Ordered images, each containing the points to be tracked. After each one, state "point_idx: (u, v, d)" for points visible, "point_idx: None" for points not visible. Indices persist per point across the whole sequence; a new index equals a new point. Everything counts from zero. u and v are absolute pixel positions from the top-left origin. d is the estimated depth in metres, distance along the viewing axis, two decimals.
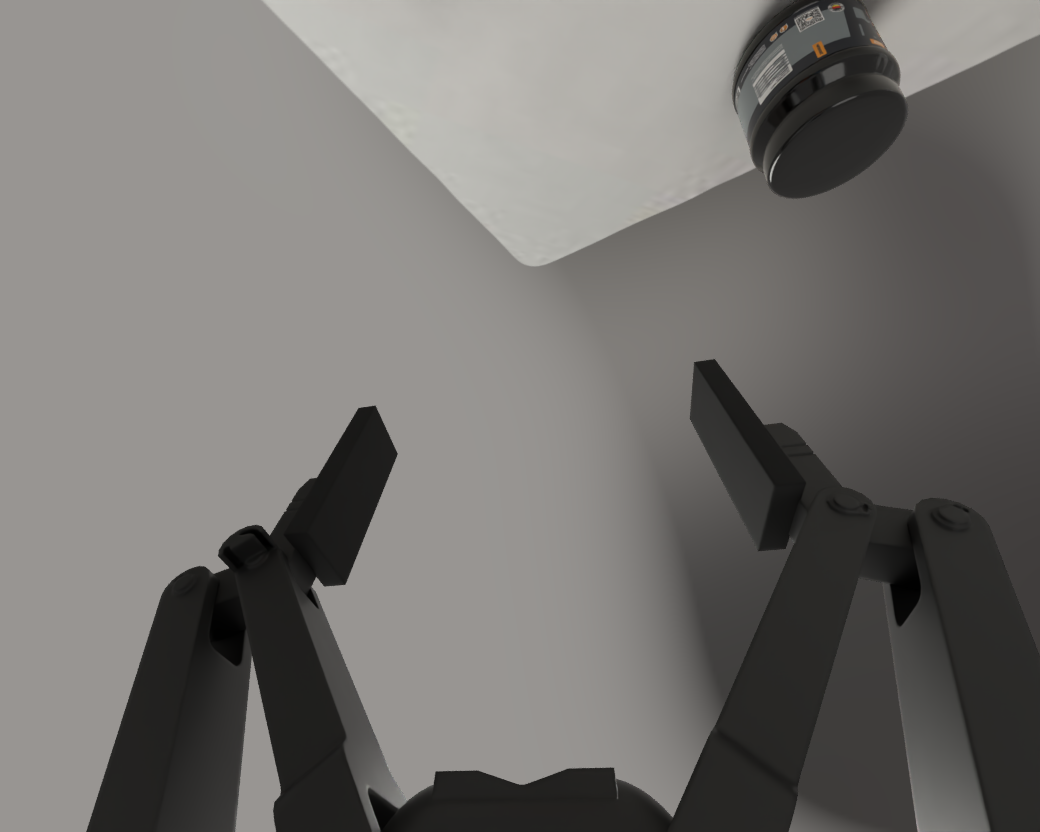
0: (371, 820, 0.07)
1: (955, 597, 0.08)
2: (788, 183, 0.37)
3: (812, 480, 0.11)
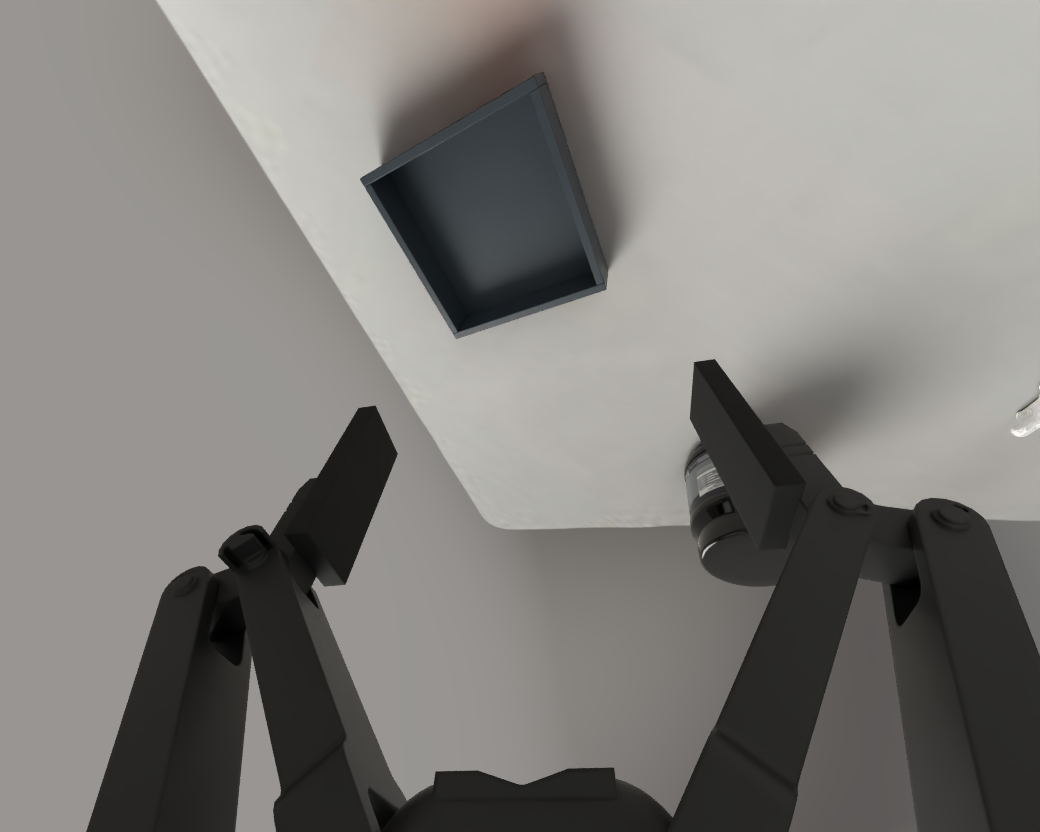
0: (371, 820, 0.07)
1: (955, 597, 0.08)
2: (718, 569, 0.40)
3: (812, 480, 0.11)
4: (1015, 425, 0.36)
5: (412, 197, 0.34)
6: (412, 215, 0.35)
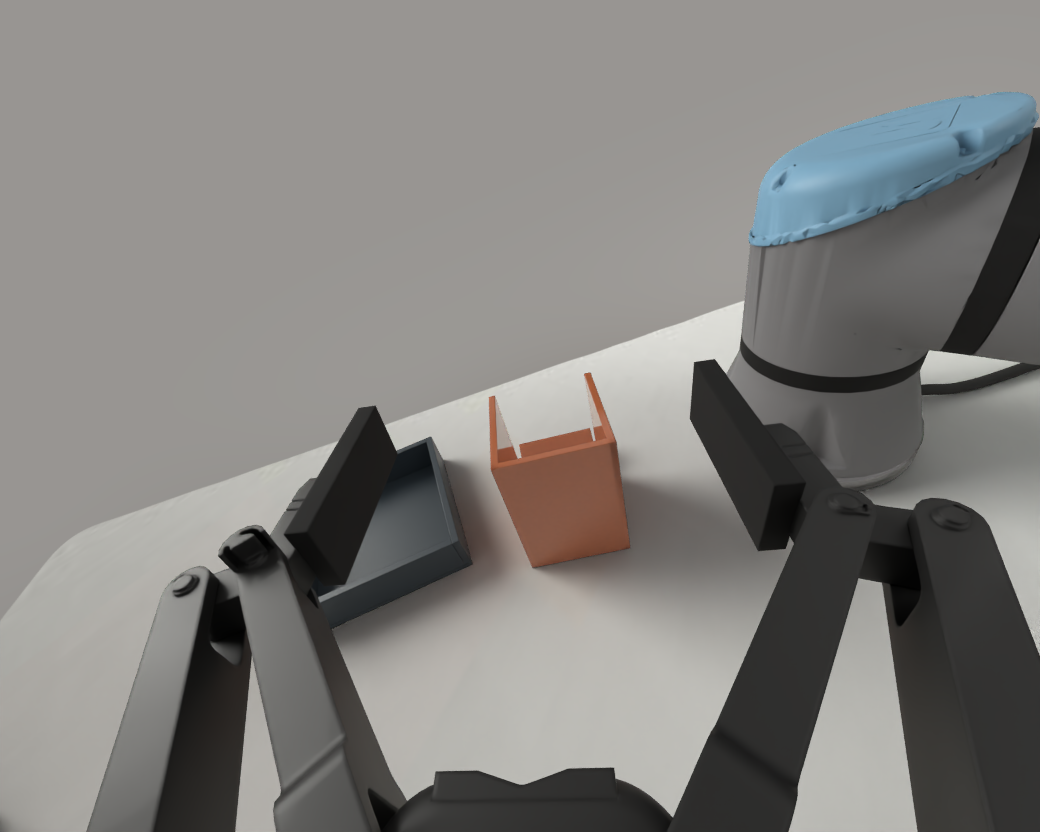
0: (371, 820, 0.07)
1: (955, 597, 0.08)
2: None
3: (812, 480, 0.11)
4: None
5: (419, 475, 0.45)
6: (408, 474, 0.45)
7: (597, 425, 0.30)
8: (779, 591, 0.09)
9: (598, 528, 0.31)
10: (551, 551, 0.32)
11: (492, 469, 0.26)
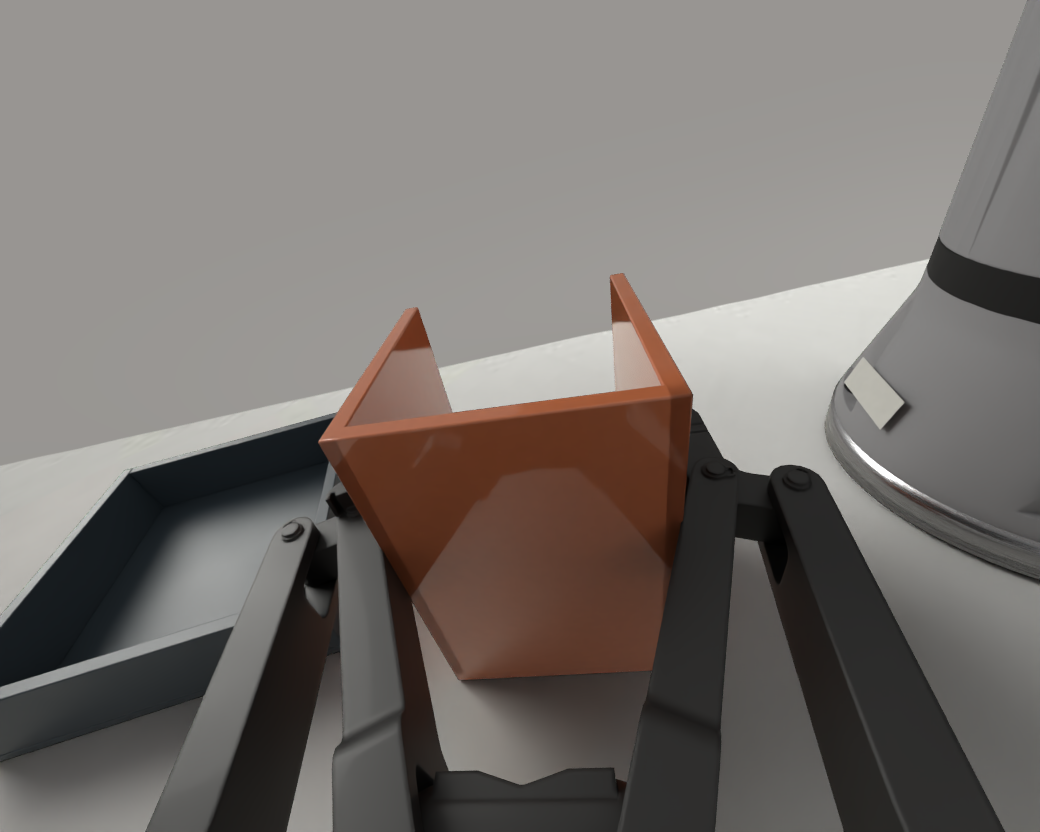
0: (414, 802, 0.07)
1: (812, 550, 0.09)
2: None
3: (700, 453, 0.13)
4: None
5: (324, 469, 0.28)
6: (309, 466, 0.28)
7: (629, 383, 0.13)
8: (677, 559, 0.10)
9: (606, 624, 0.13)
10: (497, 656, 0.15)
11: (322, 440, 0.09)
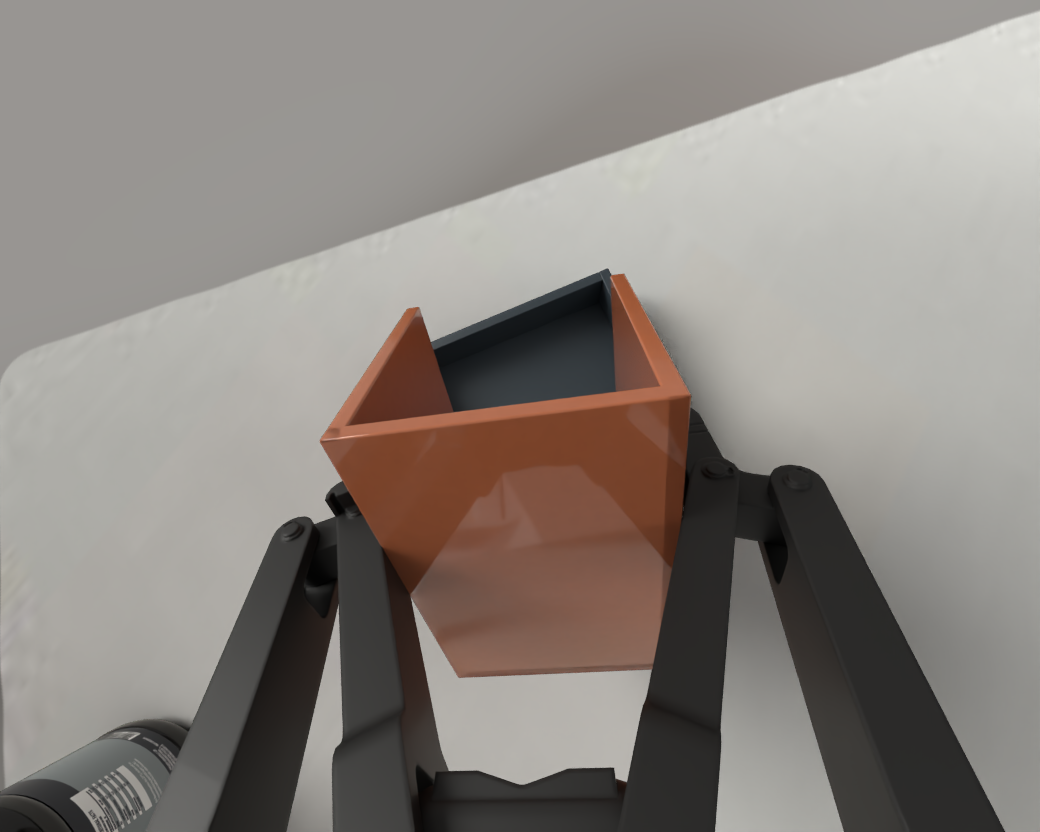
0: (414, 802, 0.07)
1: (812, 550, 0.09)
2: None
3: (700, 453, 0.13)
4: None
5: (573, 324, 0.28)
6: (554, 321, 0.29)
7: (629, 383, 0.13)
8: (678, 559, 0.10)
9: (605, 622, 0.13)
10: (497, 654, 0.15)
11: (324, 439, 0.09)
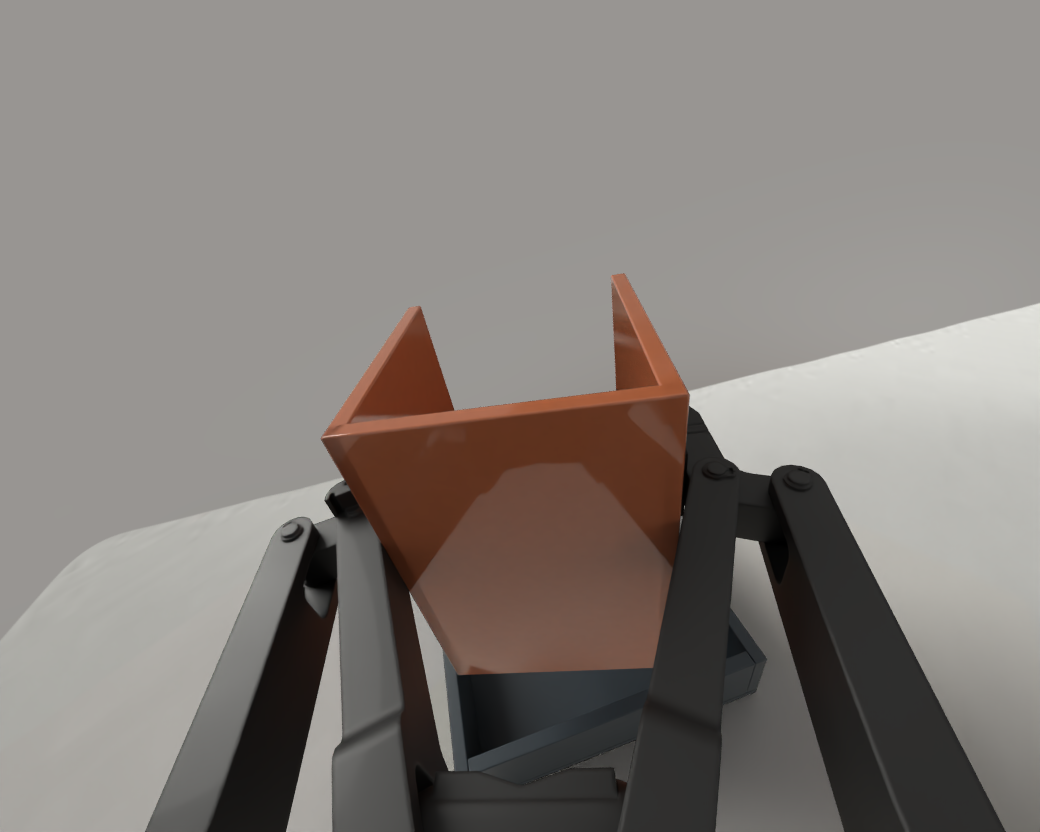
0: (414, 802, 0.07)
1: (813, 550, 0.09)
2: None
3: (700, 453, 0.13)
4: None
5: None
6: None
7: (629, 382, 0.13)
8: (678, 559, 0.10)
9: (604, 621, 0.13)
10: (496, 651, 0.15)
11: (325, 437, 0.09)
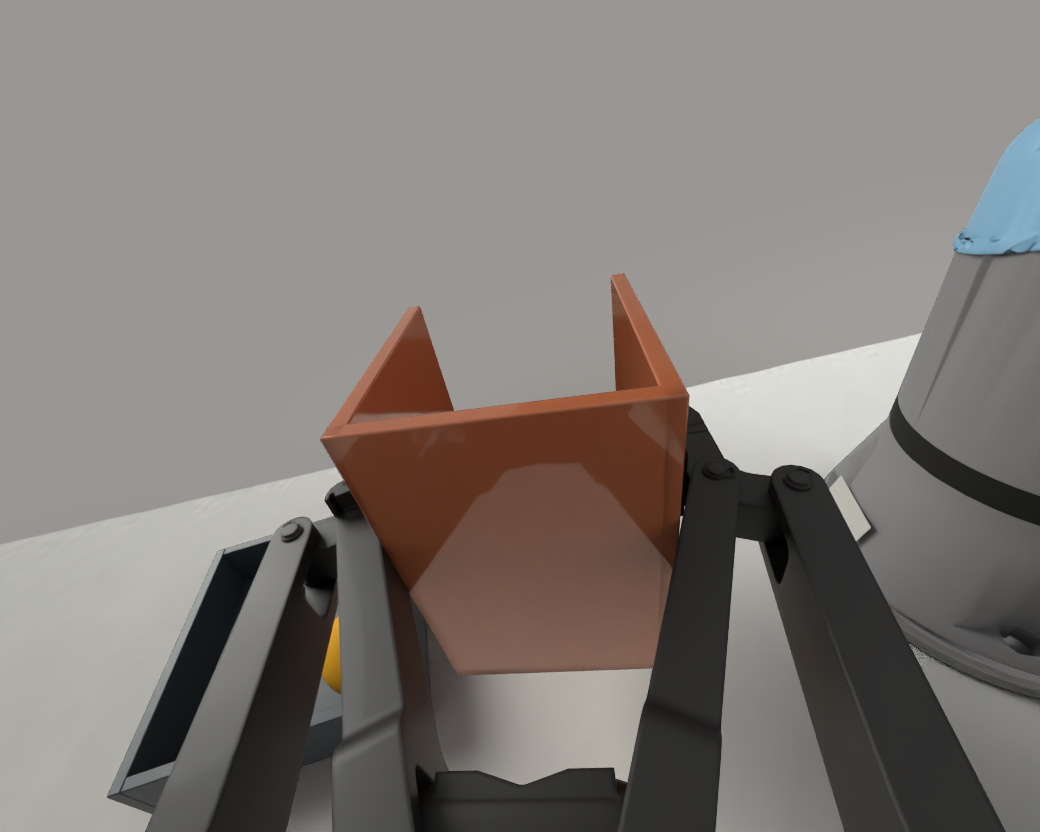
0: (414, 802, 0.07)
1: (813, 550, 0.09)
2: None
3: (701, 453, 0.13)
4: None
5: None
6: None
7: (628, 383, 0.13)
8: (678, 559, 0.10)
9: (604, 621, 0.13)
10: (496, 652, 0.15)
11: (324, 437, 0.09)
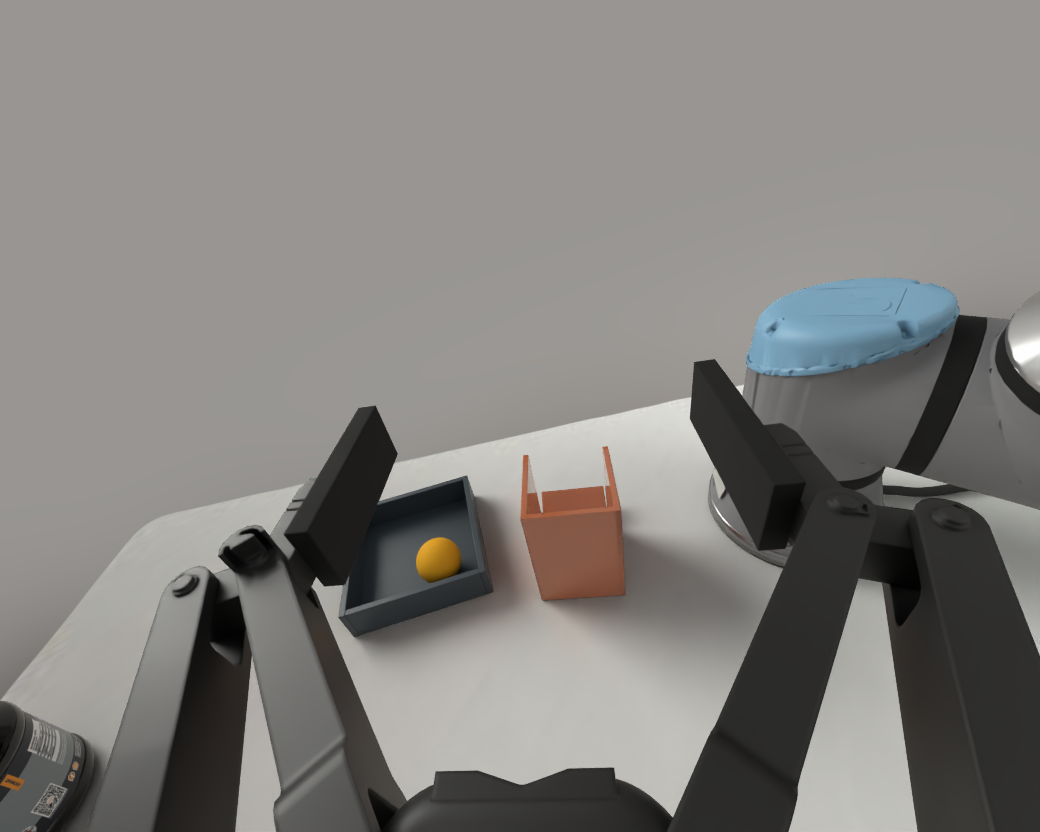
0: (371, 820, 0.07)
1: (955, 597, 0.08)
2: None
3: (812, 480, 0.11)
4: None
5: (452, 507, 0.52)
6: (443, 505, 0.52)
7: (608, 491, 0.37)
8: (779, 591, 0.09)
9: (600, 575, 0.38)
10: (559, 588, 0.39)
11: (521, 519, 0.34)
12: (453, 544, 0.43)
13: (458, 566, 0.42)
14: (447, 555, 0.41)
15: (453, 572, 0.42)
